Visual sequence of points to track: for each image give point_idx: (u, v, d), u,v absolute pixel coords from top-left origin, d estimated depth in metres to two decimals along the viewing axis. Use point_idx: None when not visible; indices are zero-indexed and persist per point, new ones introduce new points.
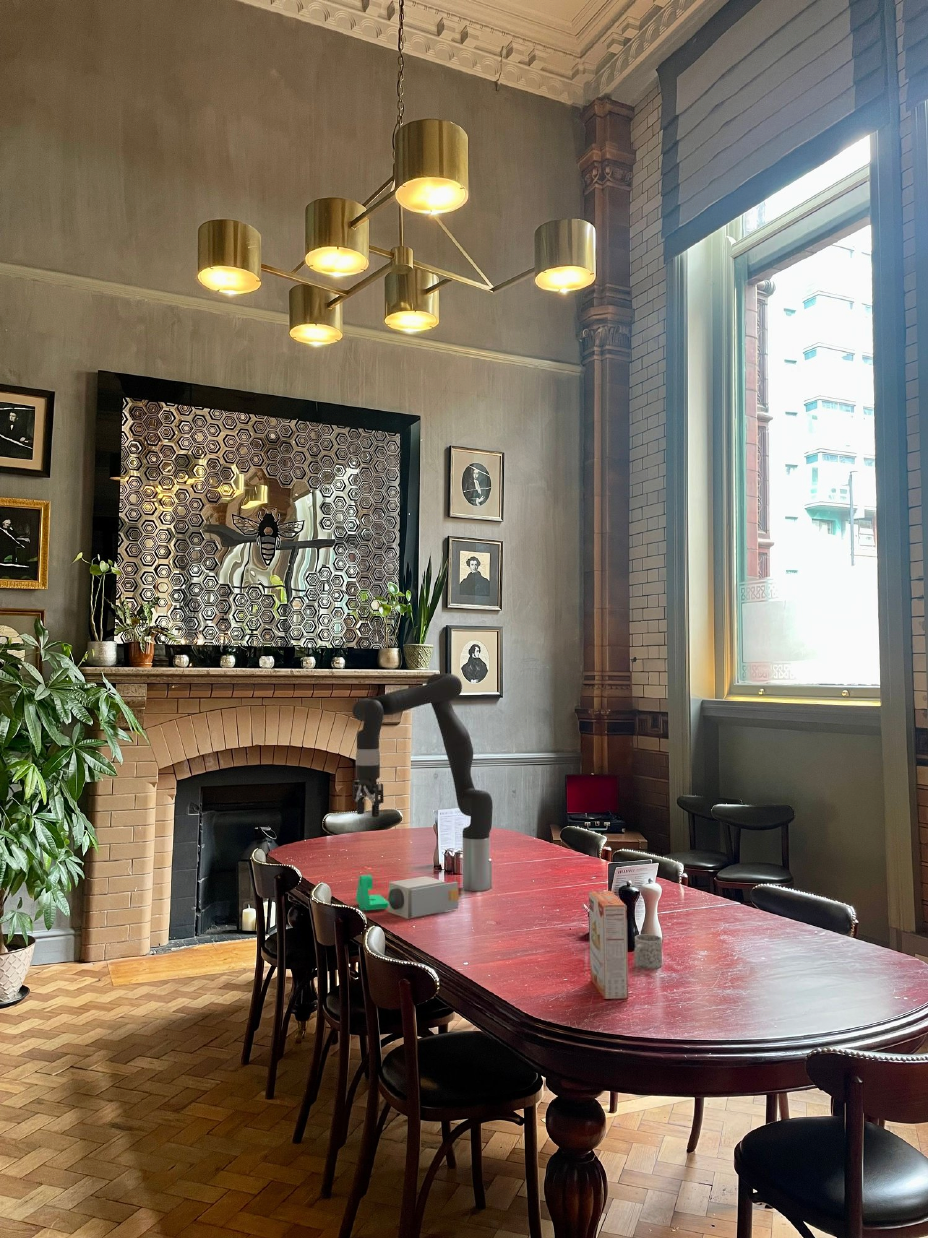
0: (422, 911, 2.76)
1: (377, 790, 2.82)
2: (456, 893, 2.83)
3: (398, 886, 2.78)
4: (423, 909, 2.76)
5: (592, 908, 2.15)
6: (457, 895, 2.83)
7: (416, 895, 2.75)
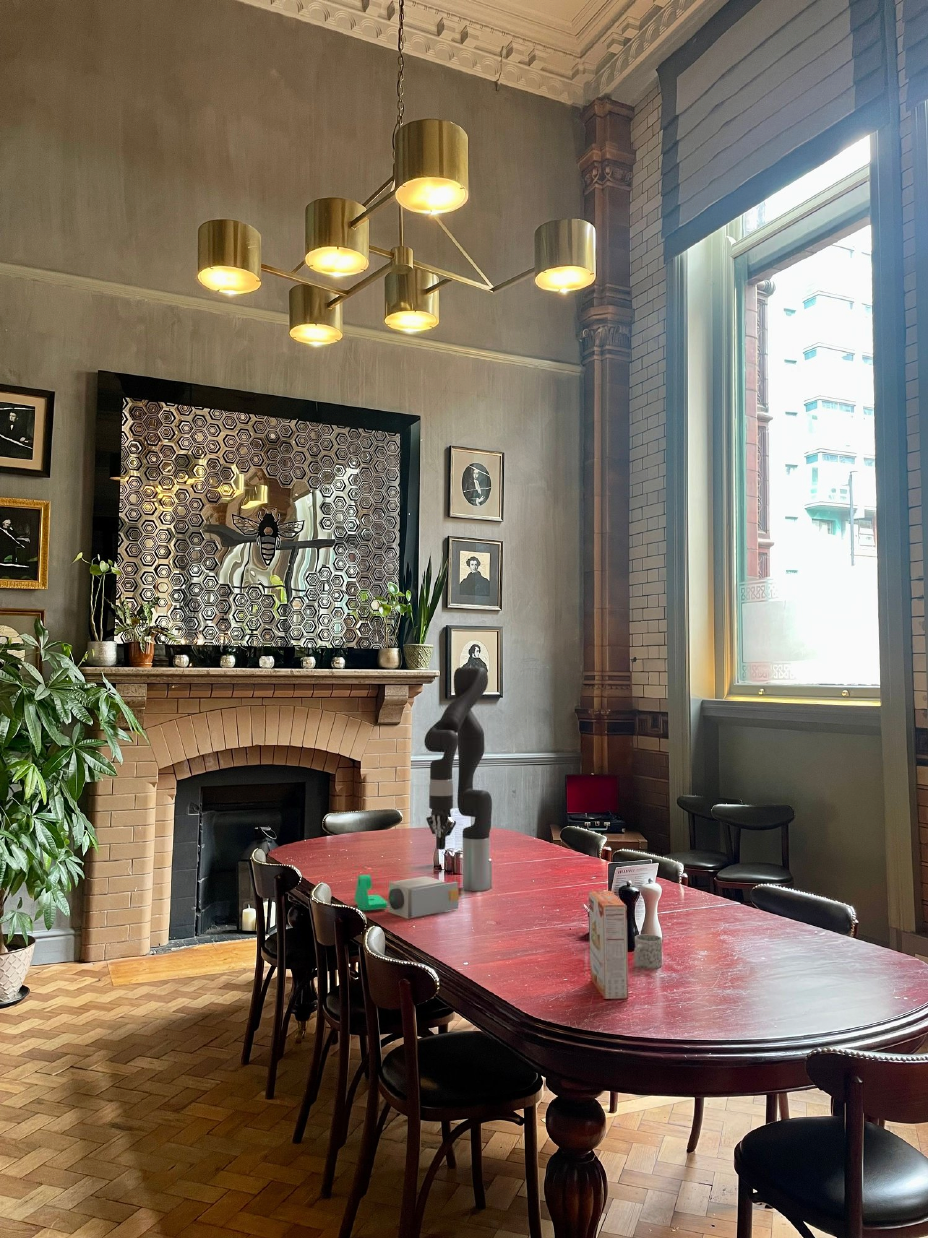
0: (422, 911, 2.76)
1: (448, 827, 2.85)
2: (456, 893, 2.83)
3: (398, 886, 2.78)
4: (423, 909, 2.76)
5: (592, 908, 2.15)
6: (457, 895, 2.83)
7: (416, 895, 2.75)
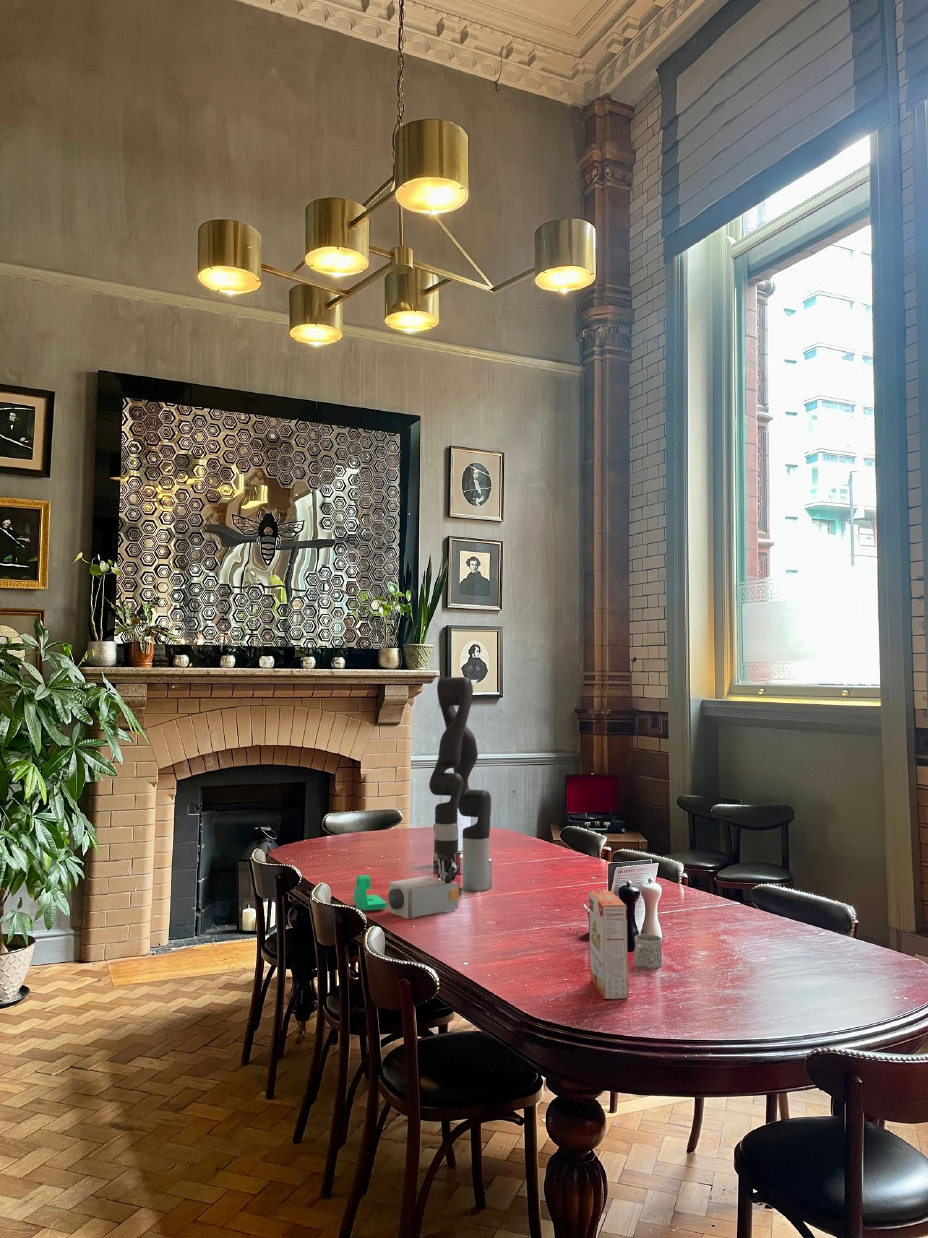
0: (422, 911, 2.76)
1: (452, 873, 2.82)
2: (456, 893, 2.83)
3: (398, 886, 2.78)
4: (423, 909, 2.76)
5: (592, 908, 2.15)
6: (457, 895, 2.83)
7: (416, 895, 2.75)
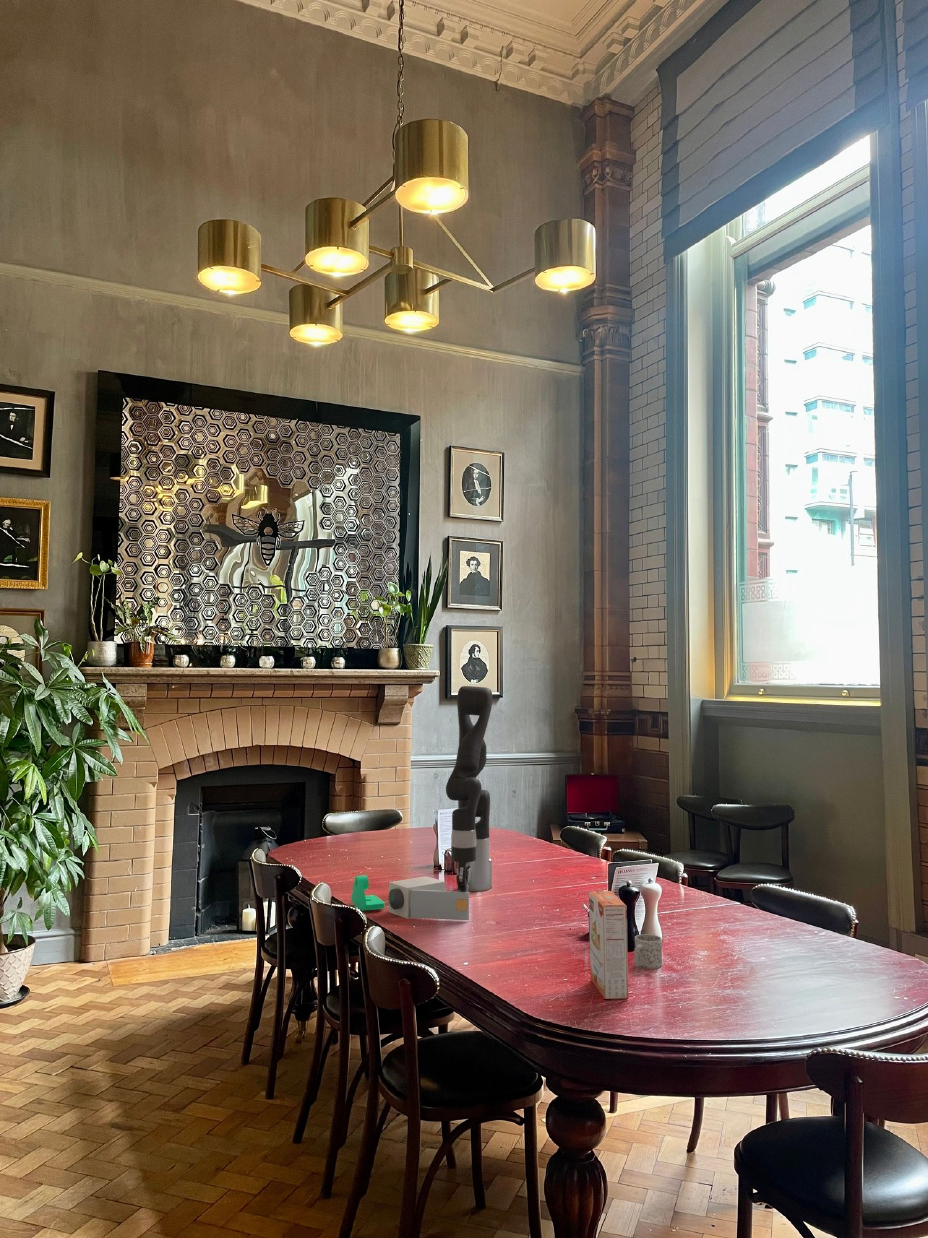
0: (423, 914, 2.72)
1: (458, 882, 2.70)
2: (463, 903, 2.70)
3: (398, 886, 2.78)
4: (424, 912, 2.72)
5: (592, 908, 2.15)
6: (465, 906, 2.70)
7: (416, 896, 2.73)
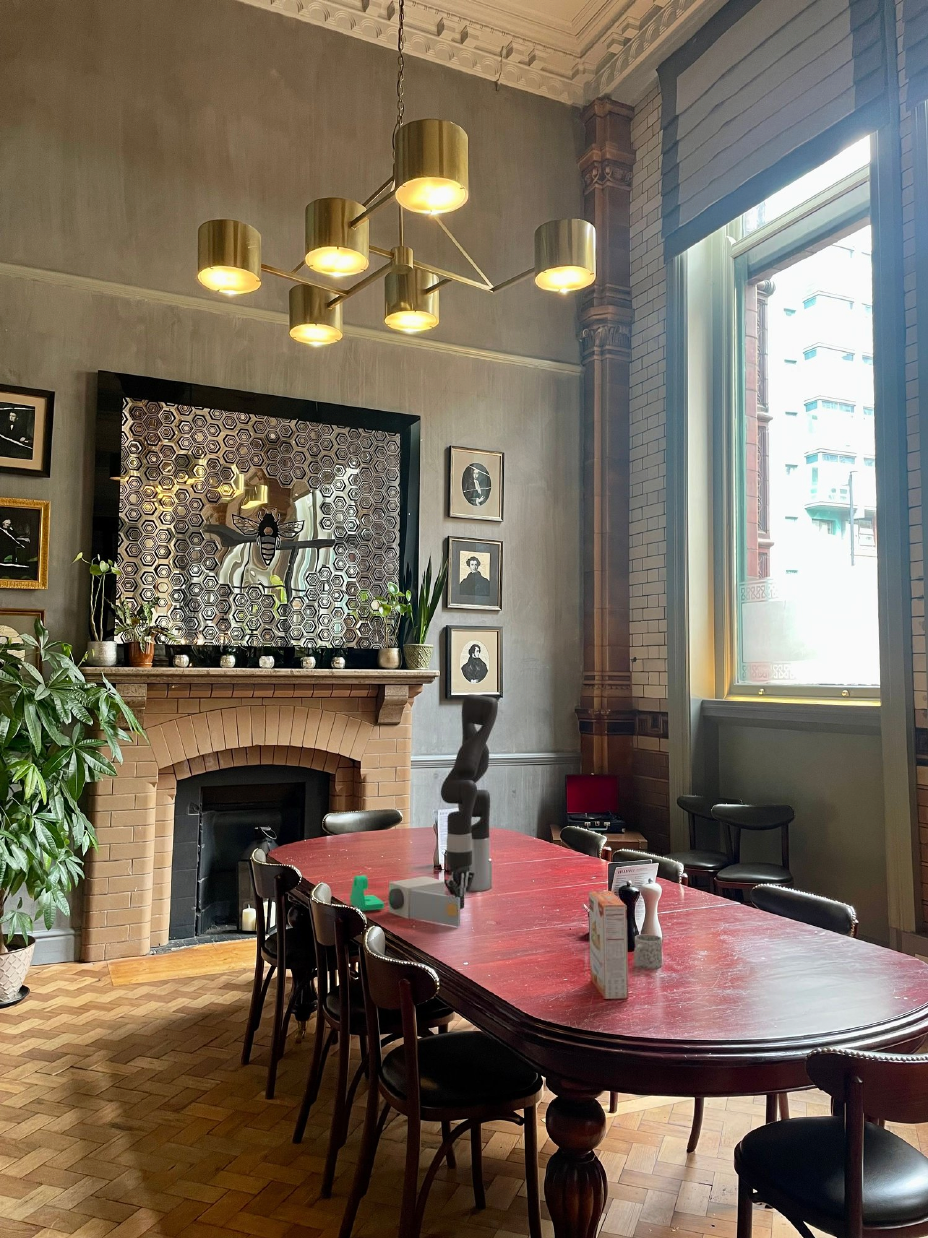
0: (420, 915, 2.71)
1: (447, 886, 2.64)
2: (452, 909, 2.64)
3: (398, 886, 2.78)
4: (421, 913, 2.71)
5: (592, 908, 2.15)
6: (454, 912, 2.63)
7: (414, 897, 2.73)
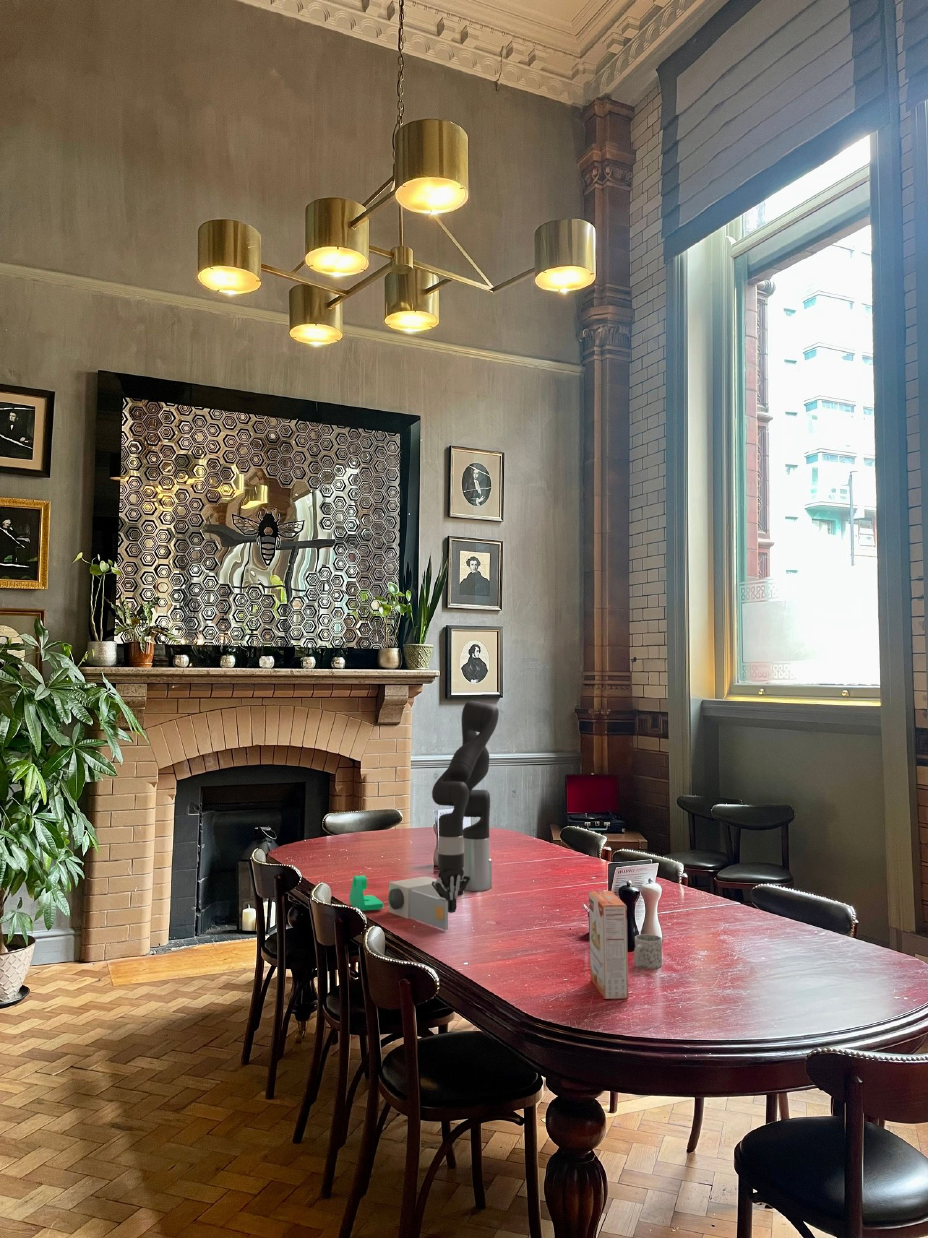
0: (417, 916, 2.70)
1: (435, 888, 2.61)
2: (440, 912, 2.60)
3: (398, 886, 2.78)
4: (417, 914, 2.70)
5: (592, 908, 2.15)
6: (441, 915, 2.60)
7: (412, 897, 2.72)
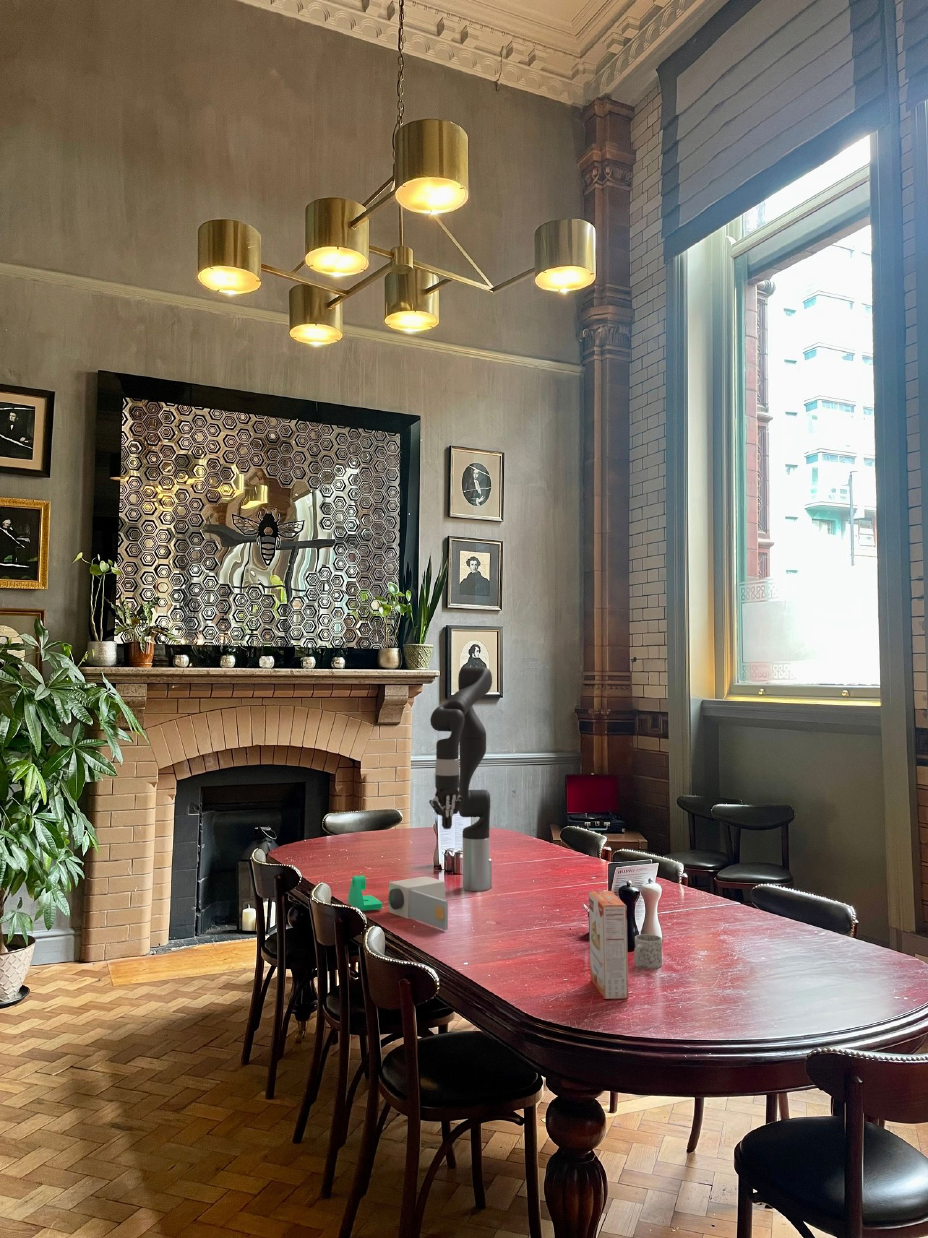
0: (417, 916, 2.70)
1: (432, 806, 2.85)
2: (439, 912, 2.60)
3: (398, 886, 2.78)
4: (417, 914, 2.70)
5: (592, 908, 2.15)
6: (440, 915, 2.60)
7: (412, 897, 2.72)
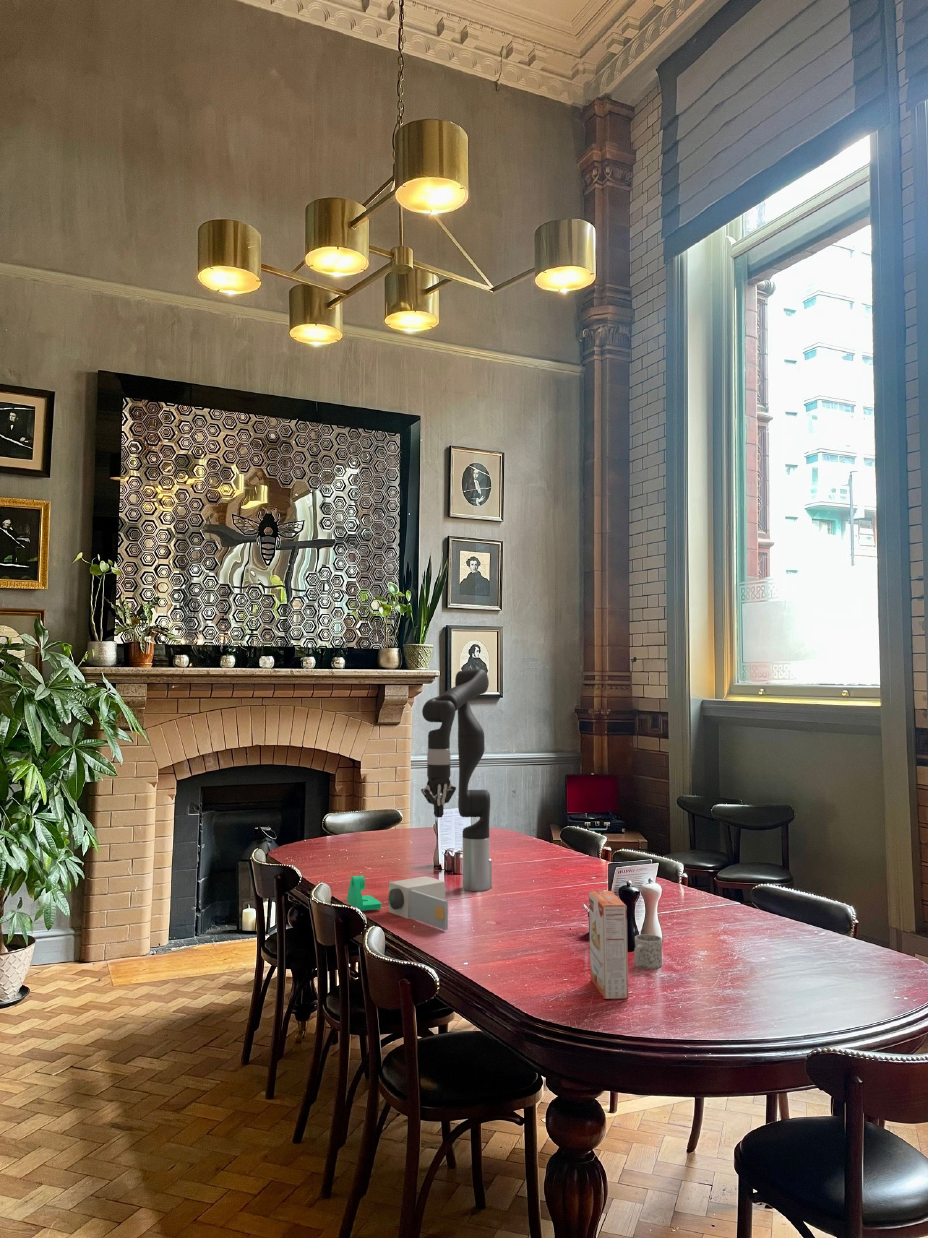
0: (417, 916, 2.70)
1: (424, 795, 2.93)
2: (439, 912, 2.60)
3: (398, 886, 2.78)
4: (417, 914, 2.70)
5: (592, 908, 2.15)
6: (440, 915, 2.60)
7: (412, 897, 2.72)
